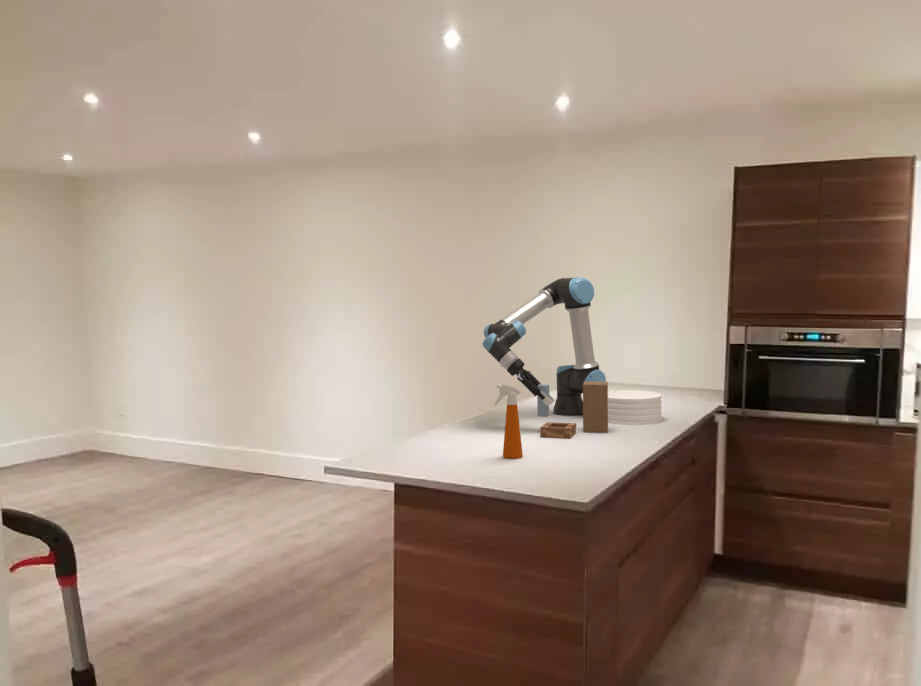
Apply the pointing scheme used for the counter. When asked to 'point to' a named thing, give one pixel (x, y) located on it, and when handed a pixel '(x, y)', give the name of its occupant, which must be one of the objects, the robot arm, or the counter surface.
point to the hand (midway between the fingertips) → (551, 403)
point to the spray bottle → (511, 423)
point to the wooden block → (595, 406)
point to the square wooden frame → (558, 430)
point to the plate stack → (634, 407)
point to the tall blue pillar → (541, 406)
